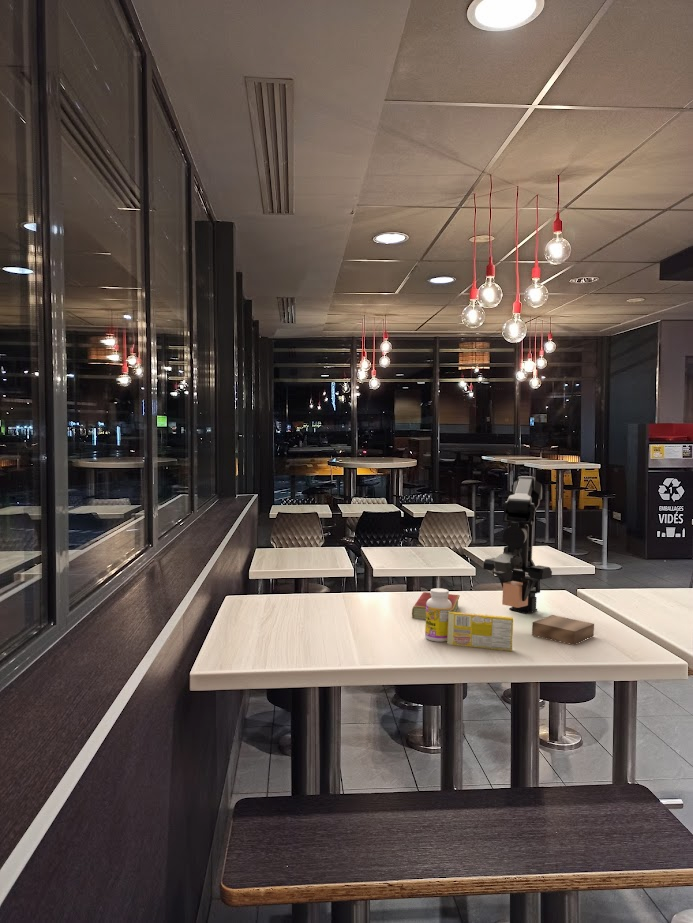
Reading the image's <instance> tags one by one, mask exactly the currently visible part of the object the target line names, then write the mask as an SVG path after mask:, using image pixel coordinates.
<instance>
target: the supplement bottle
mask: <svg viewBox="0 0 693 923" xmlns="http://www.w3.org/2000/svg"><path fill="white" fill-rule="evenodd" d="M430 594H431V598H430V599H428V600H427V603H426V619H425V625H424V626H425V628H424V629H425V630H424V637H425V639H427V640H429V641H432V642H437V643H440V642H441V643H443V642H447V636H448V613H449V612H452V603H451V601H450V600H448V595H449V594H450V593H449V590H448V589H446V588H441V587H440V588H431V589H430Z"/></svg>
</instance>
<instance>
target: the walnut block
mask: <svg viewBox="0 0 693 923" xmlns="http://www.w3.org/2000/svg"><path fill="white" fill-rule="evenodd" d="M531 625H532V628H531V630H532V631H531V636H533V637H538V636H539V638H542V637H543V639H546V638H547V640H550V639H552V640H551V641H555V640H556V641H555V642H559V641H561V642H560V643H563V642H565V643H564V644H567V643H570V644H569V645H571V644H576V643H578V644H580V643H582V642H581V641H583V640H585V639H587V638H590V637H592V636H594V635H595V633H594V632H595V623H594V622H593V623H592V622H586V621H582V620H578V619H574V618H568V617H563V616H559V615H555V614H554V615H553V614H552V615H549V616H546V617H543V618H541V619H537V620H534V621H532V624H531ZM594 637H595V636H594ZM592 638H593V637H592ZM590 639H591V638H590ZM587 640H588V639H587ZM585 641H586V640H585ZM579 642H580V643H579ZM583 642H584V641H583ZM576 645H577V644H576Z"/></svg>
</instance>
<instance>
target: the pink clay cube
mask: <svg viewBox="0 0 693 923" xmlns="http://www.w3.org/2000/svg"><path fill="white" fill-rule="evenodd" d="M522 588H523V583H521V582H516V581H510V582H505V583H503V588H502V601H501V602H502V604H501V605H503V606H508V607H516V608H520V607H523V606H527V605H528V597H527V599H526V600H525V601H522Z"/></svg>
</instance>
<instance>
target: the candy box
mask: <svg viewBox="0 0 693 923" xmlns="http://www.w3.org/2000/svg"><path fill="white" fill-rule="evenodd" d="M513 633H514V617H513V616H511V617H510V616H502V615H491V614H490V615H489V614H488V615H487V614H481V613H480V614H479V613H477V614H476V613H470V612H469V613H467V612H459V611H458V612H457V611H456V612H449V613H448V636H447V641H446V644H447V645H453V646H461V647H471V648H479V649H485V650H486V649H487V650H488V649H489V650H494V651H495V650H497V651H504V652H505V651H506V652H512V651H513Z"/></svg>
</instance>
